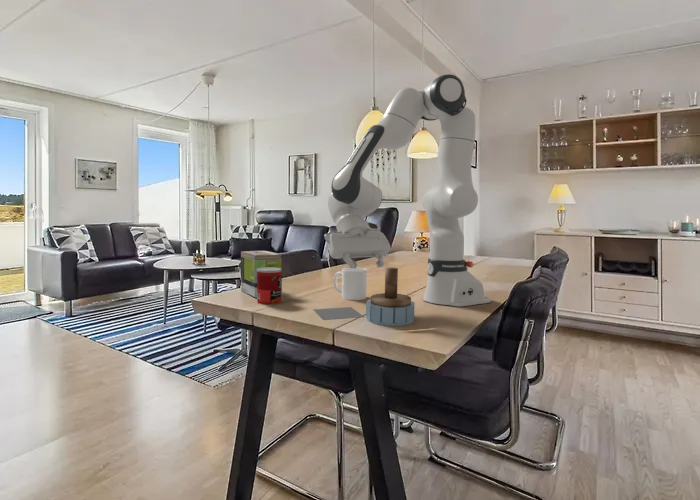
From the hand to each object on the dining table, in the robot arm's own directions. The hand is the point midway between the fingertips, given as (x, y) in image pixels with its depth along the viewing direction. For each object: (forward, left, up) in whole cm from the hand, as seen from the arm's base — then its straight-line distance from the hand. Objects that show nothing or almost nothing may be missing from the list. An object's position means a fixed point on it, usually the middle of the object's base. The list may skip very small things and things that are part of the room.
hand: (368, 266), depth 125 cm
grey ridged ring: (-2, +12, -13) cm, 18 cm away
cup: (0, -18, -14) cm, 23 cm away
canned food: (+27, -18, -14) cm, 35 cm away
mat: (+10, +2, -13) cm, 17 cm away
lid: (-2, +12, -8) cm, 15 cm away
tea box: (+28, -34, -14) cm, 46 cm away
